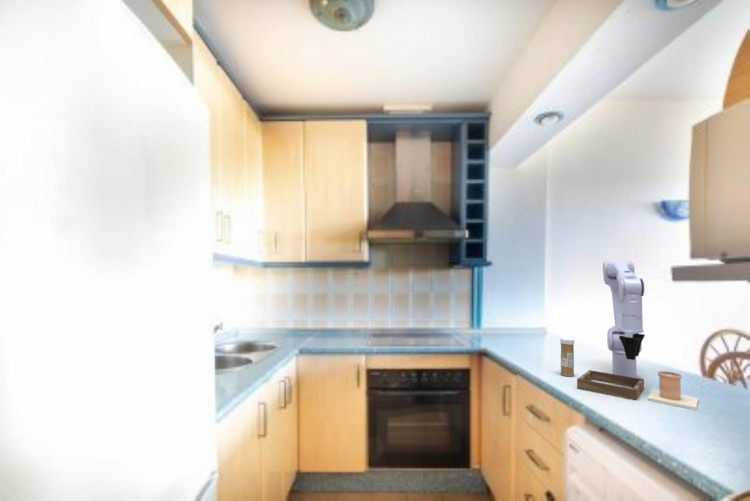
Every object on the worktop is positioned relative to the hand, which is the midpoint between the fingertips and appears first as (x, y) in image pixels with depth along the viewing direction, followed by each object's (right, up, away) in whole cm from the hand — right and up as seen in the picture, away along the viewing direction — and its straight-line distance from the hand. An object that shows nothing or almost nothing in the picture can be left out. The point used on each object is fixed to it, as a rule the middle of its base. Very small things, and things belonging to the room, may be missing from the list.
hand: (632, 357), depth 123 cm
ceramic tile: (+5, -10, -10) cm, 15 cm away
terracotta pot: (+4, -9, -10) cm, 14 cm away
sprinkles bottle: (-13, -11, +16) cm, 23 cm away
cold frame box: (-7, -10, +1) cm, 12 cm away
